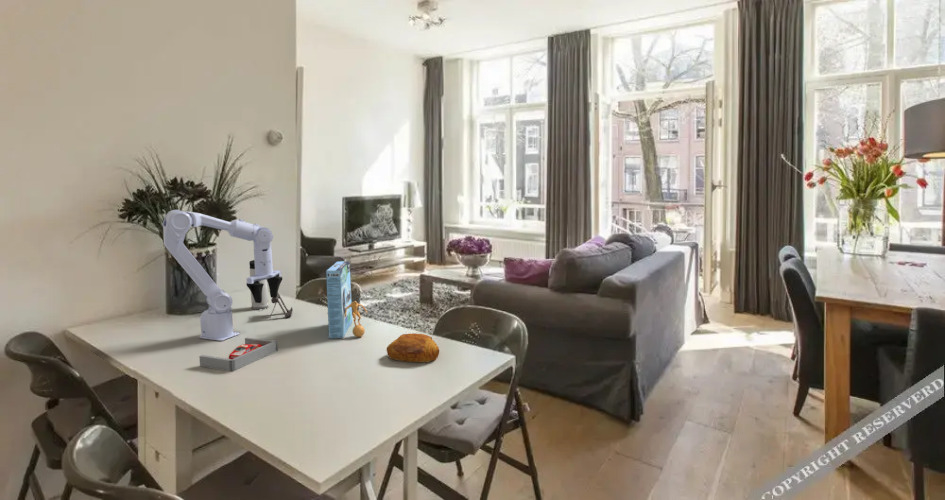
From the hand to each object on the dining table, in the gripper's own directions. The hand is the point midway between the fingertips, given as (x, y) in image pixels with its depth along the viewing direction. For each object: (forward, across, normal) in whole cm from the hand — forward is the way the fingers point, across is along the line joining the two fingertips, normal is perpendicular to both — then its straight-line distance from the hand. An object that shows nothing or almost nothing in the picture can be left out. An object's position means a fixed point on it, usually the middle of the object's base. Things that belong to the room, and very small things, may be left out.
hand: (266, 299), depth 175 cm
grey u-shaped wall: (+10, -26, -13) cm, 31 cm away
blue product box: (+11, +8, -25) cm, 28 cm away
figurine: (+11, +4, -34) cm, 36 cm away
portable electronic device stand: (+11, +16, +7) cm, 20 cm away
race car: (+11, -25, -14) cm, 30 cm away
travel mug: (+11, +22, +23) cm, 34 cm away
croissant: (+11, -7, -60) cm, 62 cm away
